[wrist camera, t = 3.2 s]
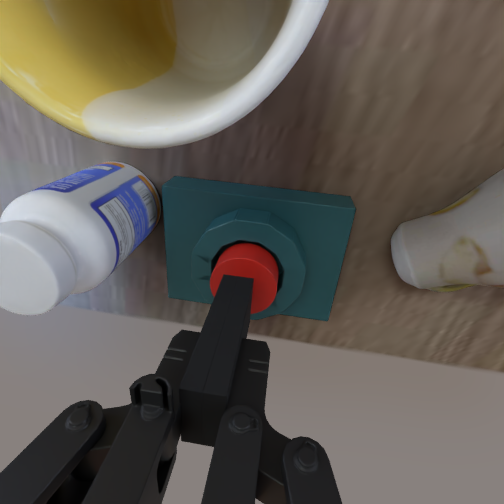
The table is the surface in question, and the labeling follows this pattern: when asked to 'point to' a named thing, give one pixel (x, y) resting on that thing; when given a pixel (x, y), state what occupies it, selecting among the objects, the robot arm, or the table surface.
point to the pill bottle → (72, 234)
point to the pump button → (249, 272)
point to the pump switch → (257, 239)
